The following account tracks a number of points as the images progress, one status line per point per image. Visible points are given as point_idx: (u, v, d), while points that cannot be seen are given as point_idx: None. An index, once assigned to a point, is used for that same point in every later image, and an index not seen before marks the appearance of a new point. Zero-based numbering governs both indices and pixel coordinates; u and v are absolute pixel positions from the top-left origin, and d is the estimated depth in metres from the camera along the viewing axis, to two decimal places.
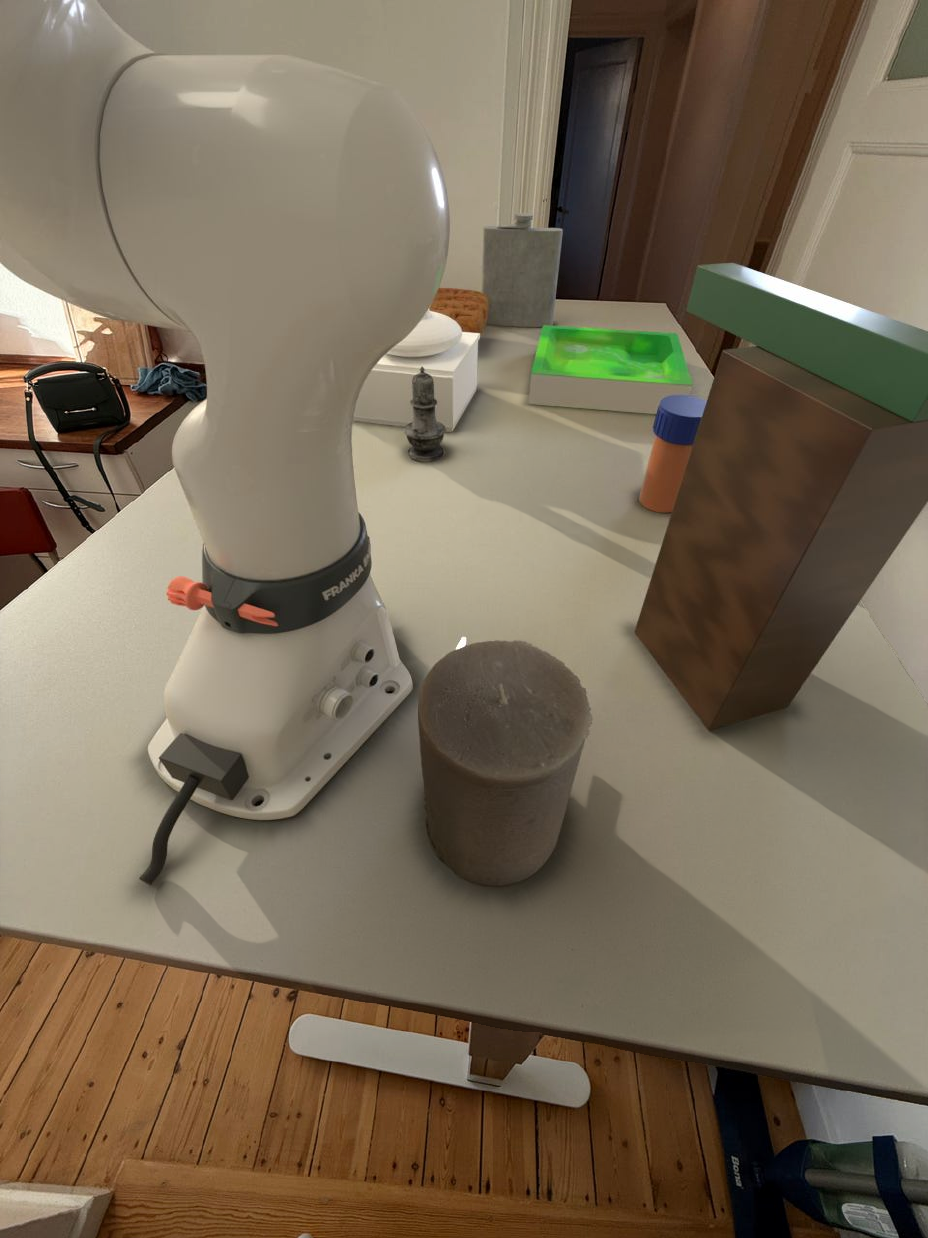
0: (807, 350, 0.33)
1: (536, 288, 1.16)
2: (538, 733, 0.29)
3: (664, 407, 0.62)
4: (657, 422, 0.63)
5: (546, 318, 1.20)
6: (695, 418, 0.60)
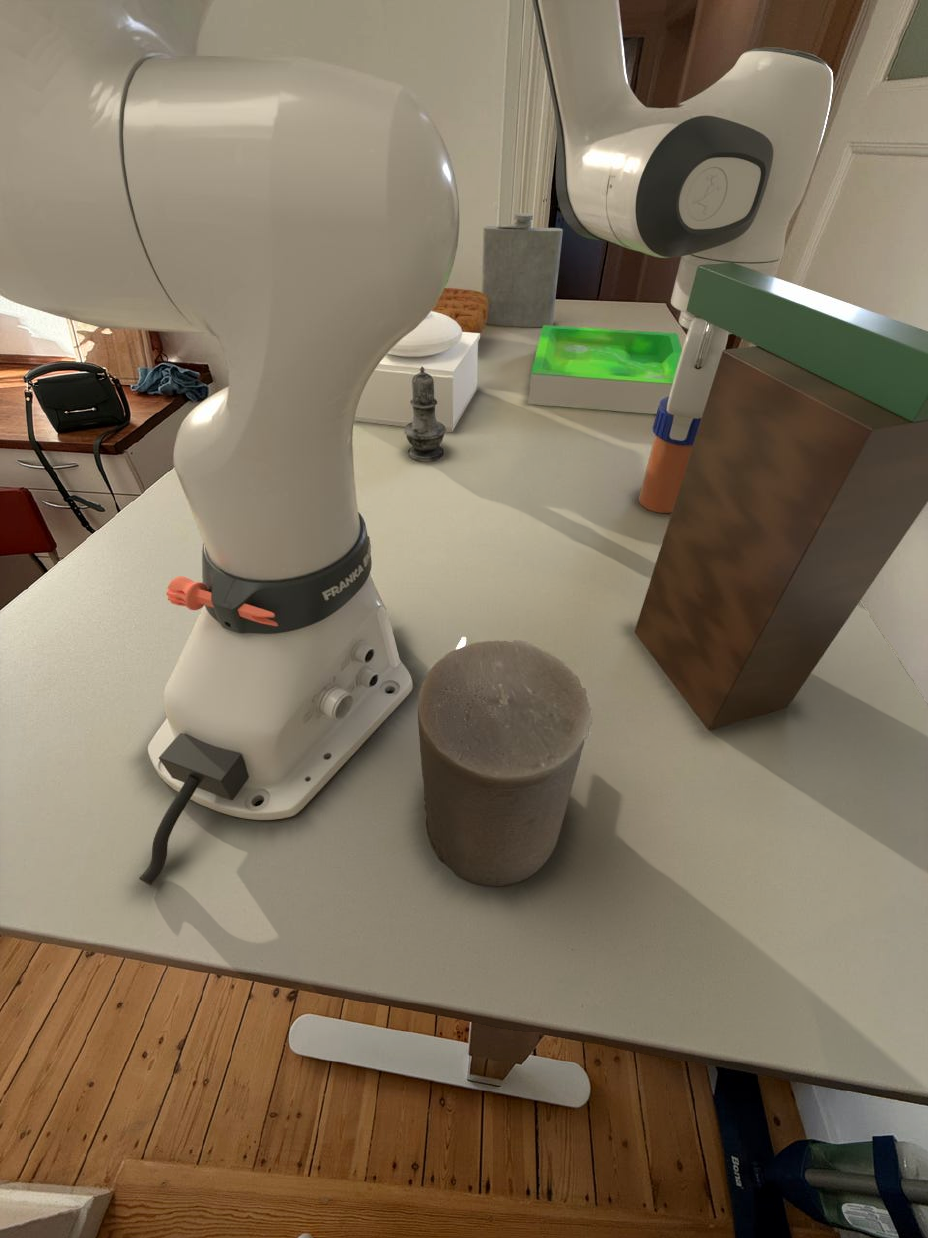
0: (807, 350, 0.33)
1: (536, 288, 1.16)
2: (538, 733, 0.29)
3: (664, 407, 0.62)
4: (657, 422, 0.63)
5: (546, 318, 1.20)
6: (695, 418, 0.60)
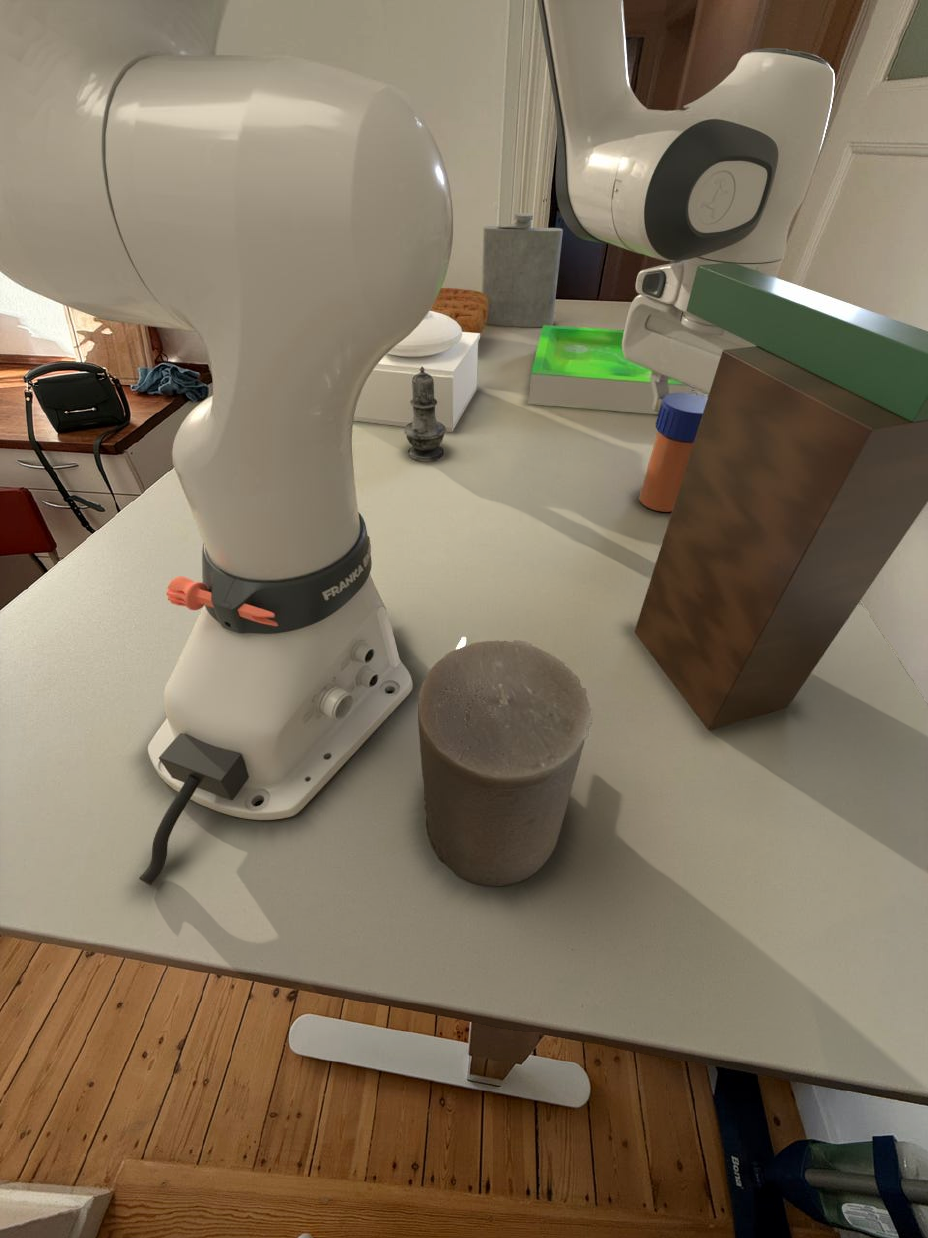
0: (807, 350, 0.33)
1: (536, 288, 1.16)
2: (538, 733, 0.29)
3: (688, 411, 0.60)
4: (679, 427, 0.61)
5: (546, 318, 1.20)
6: None
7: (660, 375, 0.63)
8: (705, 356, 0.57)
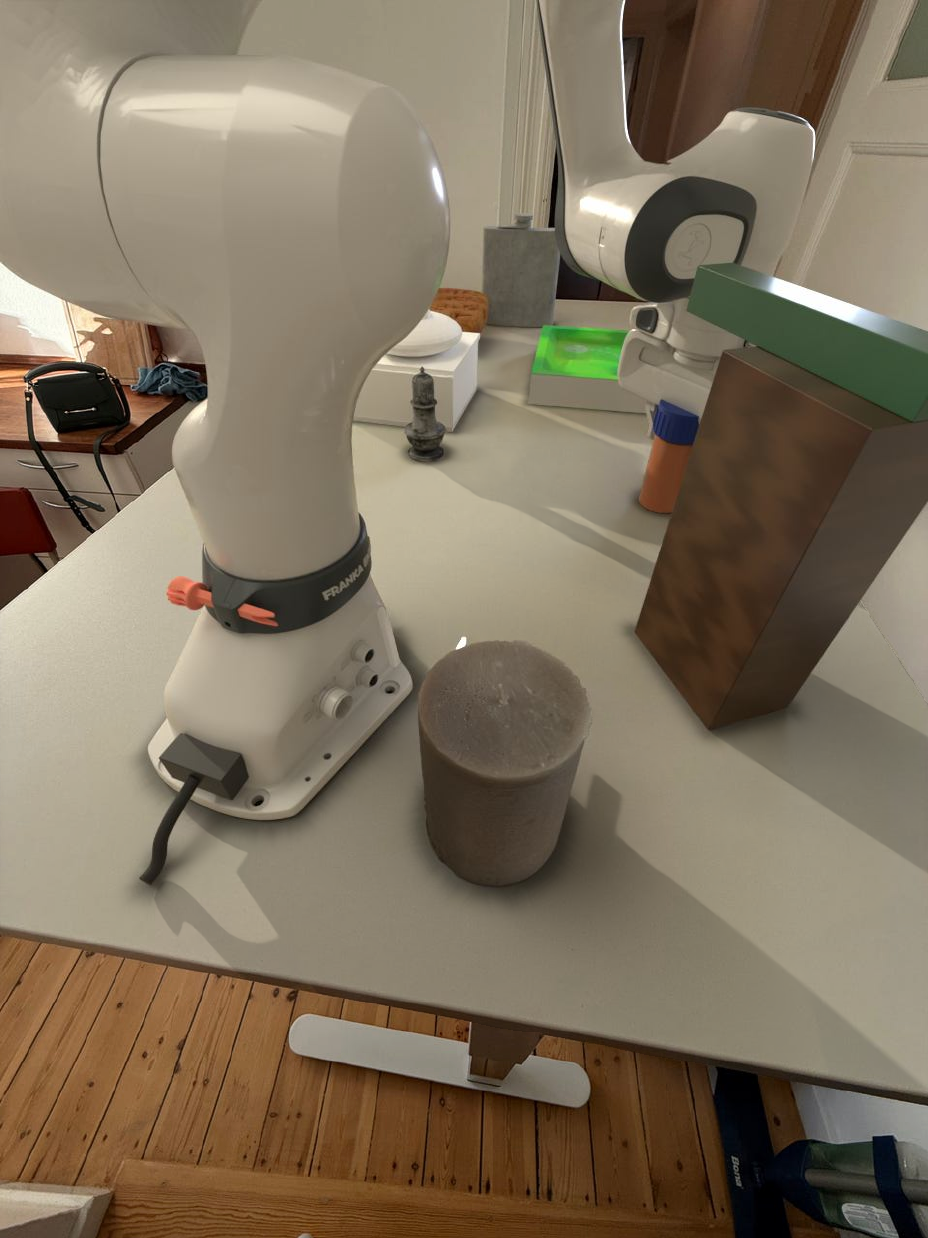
0: (807, 350, 0.33)
1: (536, 288, 1.16)
2: (538, 733, 0.29)
3: (684, 414, 0.60)
4: (676, 431, 0.61)
5: (546, 318, 1.20)
6: None
7: (654, 404, 0.65)
8: (697, 389, 0.59)
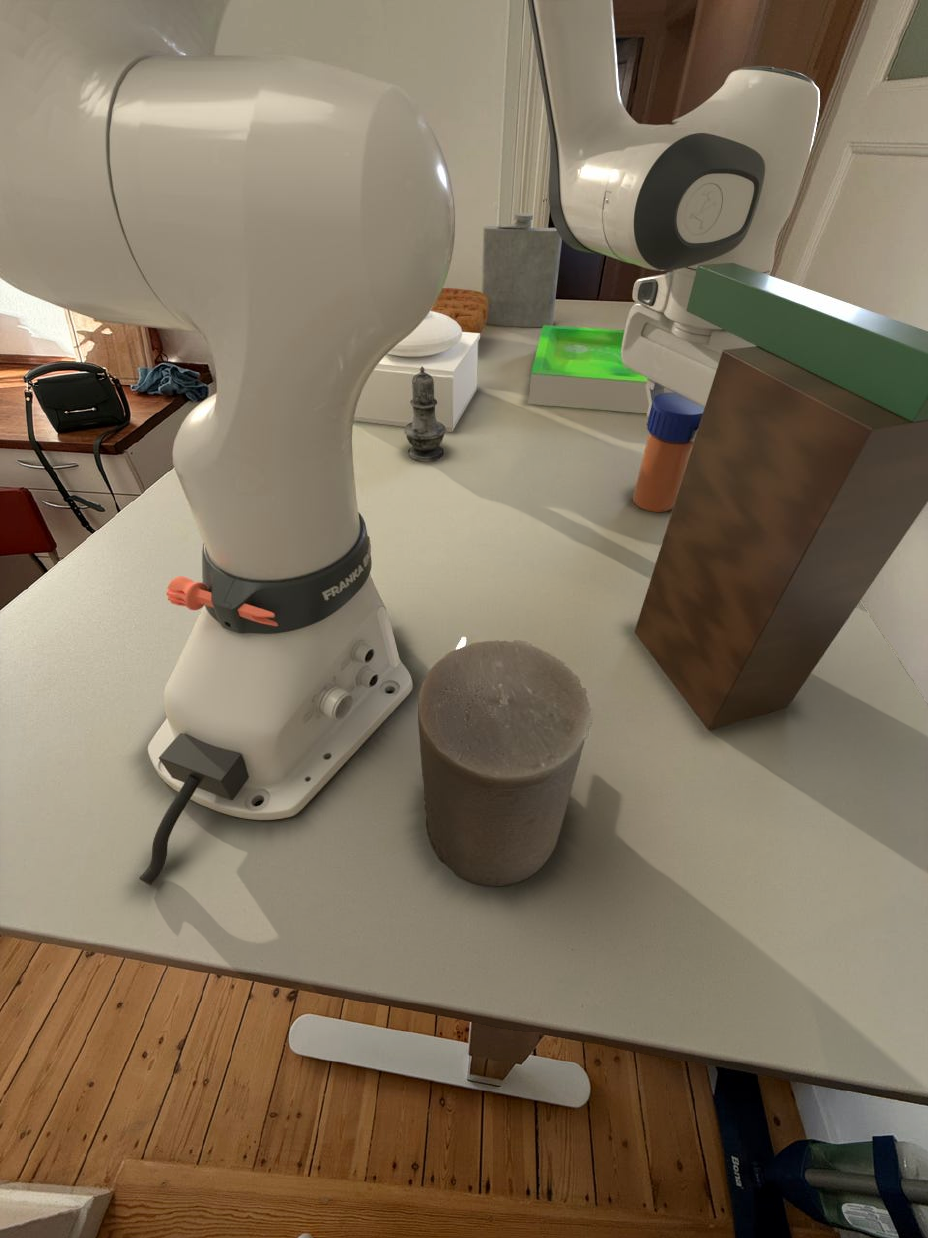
0: (807, 350, 0.33)
1: (536, 288, 1.16)
2: (538, 733, 0.29)
3: (699, 412, 0.60)
4: None
5: (546, 318, 1.20)
6: None
7: (654, 383, 0.64)
8: (693, 364, 0.57)
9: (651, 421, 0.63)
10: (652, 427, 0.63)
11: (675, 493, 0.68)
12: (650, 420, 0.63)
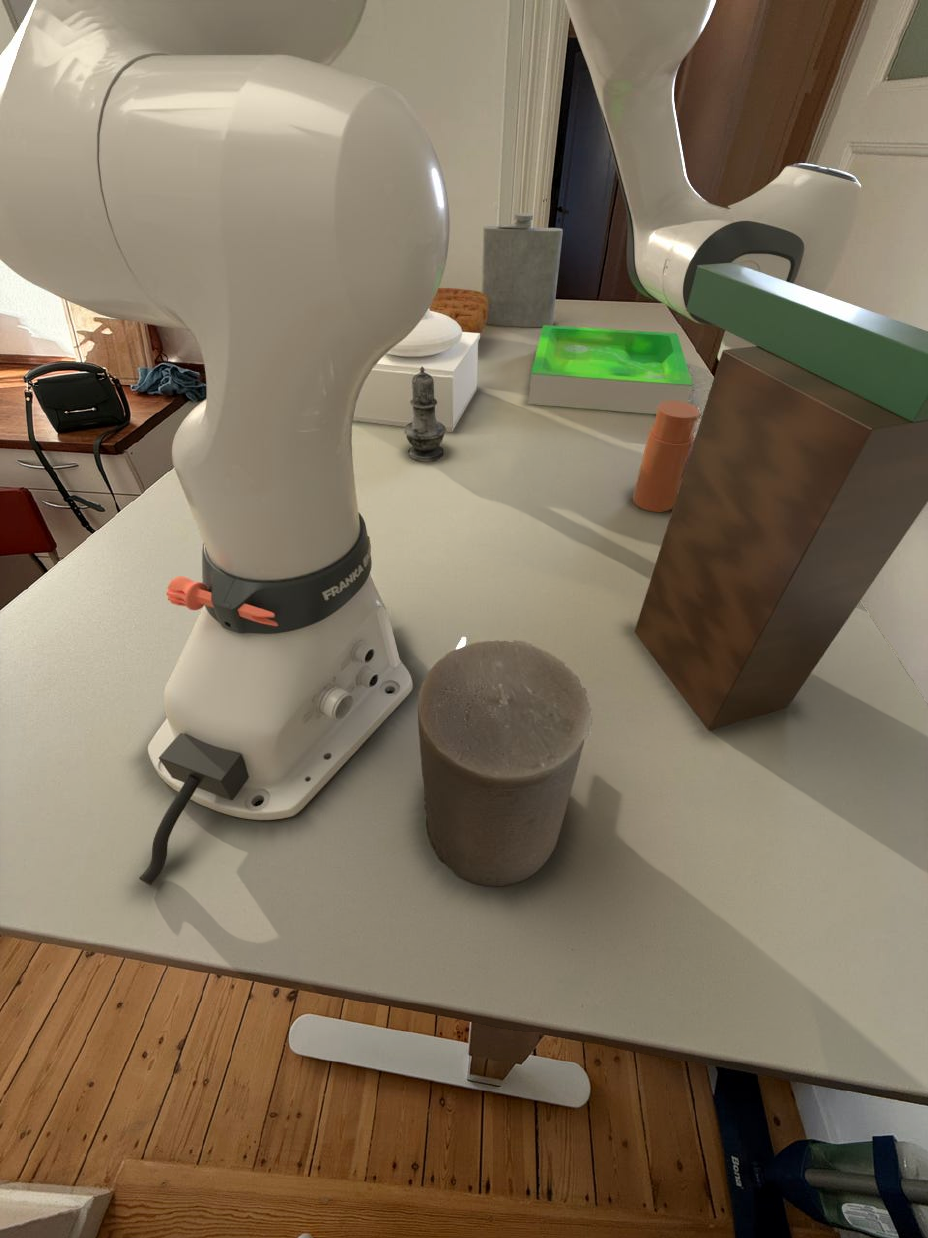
0: (807, 350, 0.33)
1: (536, 288, 1.16)
2: (538, 733, 0.29)
3: None
4: None
5: (546, 318, 1.20)
6: None
7: None
8: None
9: None
10: None
11: (675, 493, 0.68)
12: None
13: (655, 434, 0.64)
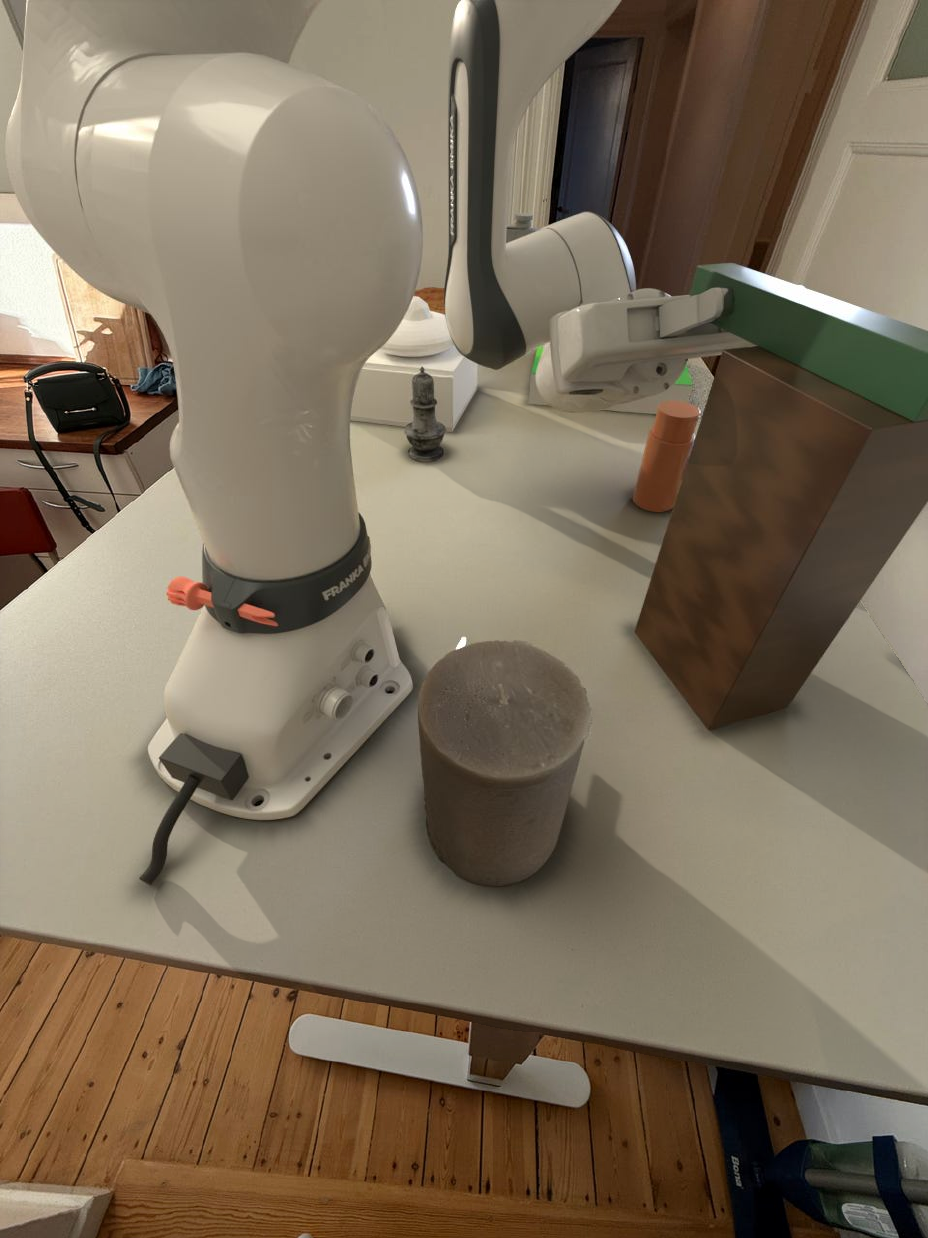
0: (807, 350, 0.33)
1: None
2: (538, 733, 0.29)
3: None
4: None
5: None
6: None
7: None
8: None
9: None
10: None
11: (675, 493, 0.68)
12: None
13: (655, 434, 0.64)
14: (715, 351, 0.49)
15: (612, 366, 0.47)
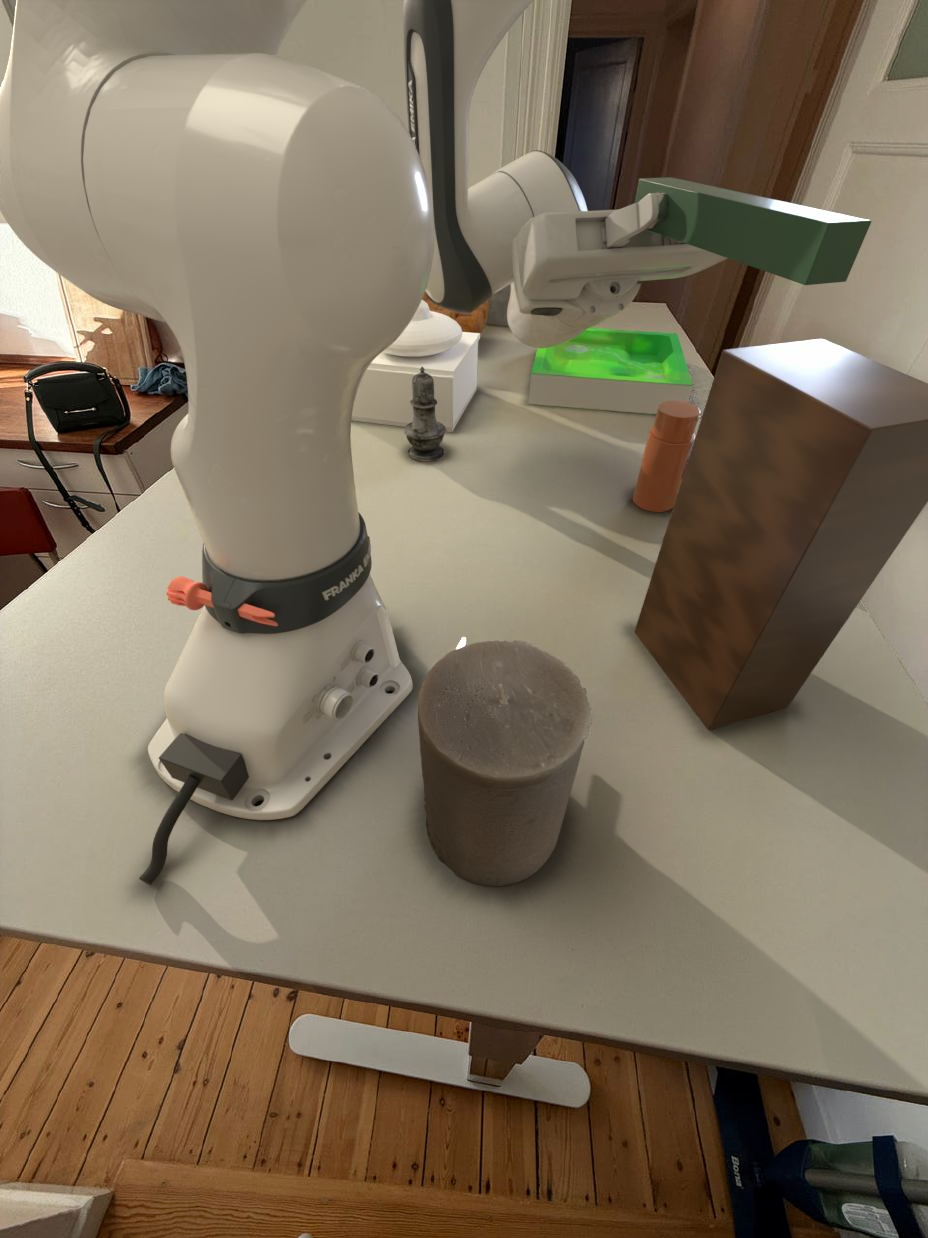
0: (725, 238, 0.37)
1: None
2: (538, 733, 0.29)
3: None
4: None
5: None
6: None
7: None
8: None
9: None
10: None
11: (675, 493, 0.68)
12: None
13: (655, 434, 0.64)
14: (665, 272, 0.53)
15: (568, 283, 0.51)
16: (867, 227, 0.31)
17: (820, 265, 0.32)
